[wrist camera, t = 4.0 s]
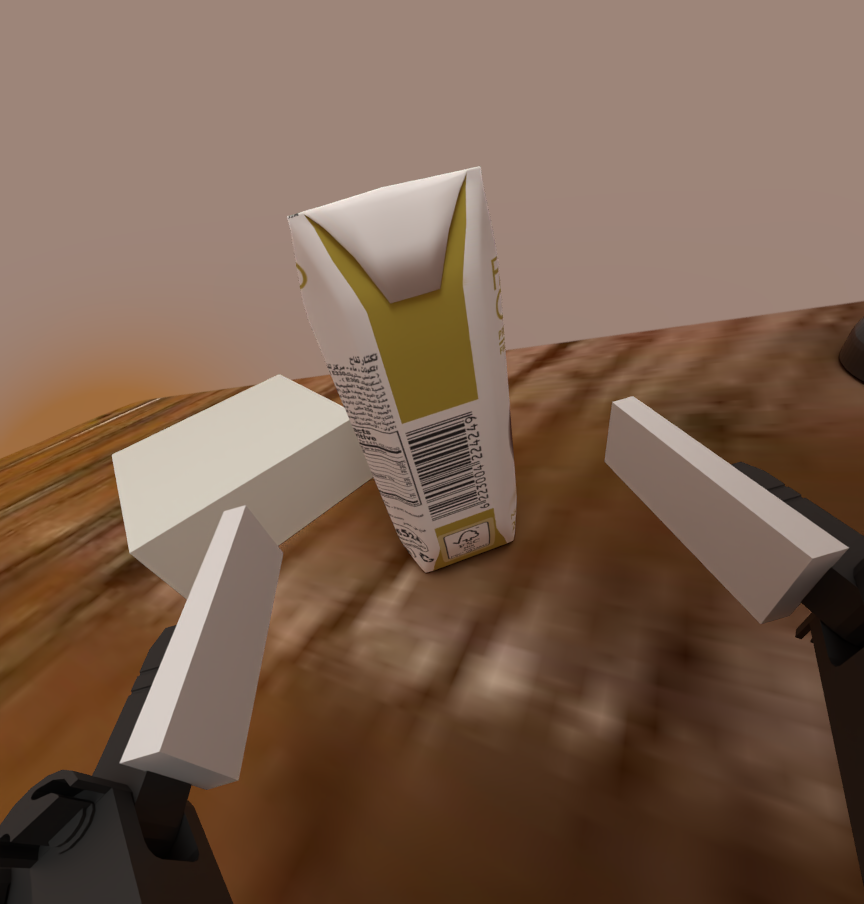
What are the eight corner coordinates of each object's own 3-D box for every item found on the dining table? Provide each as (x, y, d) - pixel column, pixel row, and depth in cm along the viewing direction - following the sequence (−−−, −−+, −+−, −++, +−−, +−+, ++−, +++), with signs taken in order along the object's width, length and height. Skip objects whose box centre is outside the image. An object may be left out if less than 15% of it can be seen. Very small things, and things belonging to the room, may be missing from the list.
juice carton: (417, 591, 21) (256, 219, 9) (392, 497, 28) (281, 214, 16) (532, 548, 21) (515, 151, 10) (480, 467, 28) (435, 174, 17)
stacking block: (302, 420, 41) (279, 374, 37) (380, 471, 30) (358, 414, 27) (158, 501, 34) (111, 454, 30) (194, 606, 23) (129, 552, 20)
